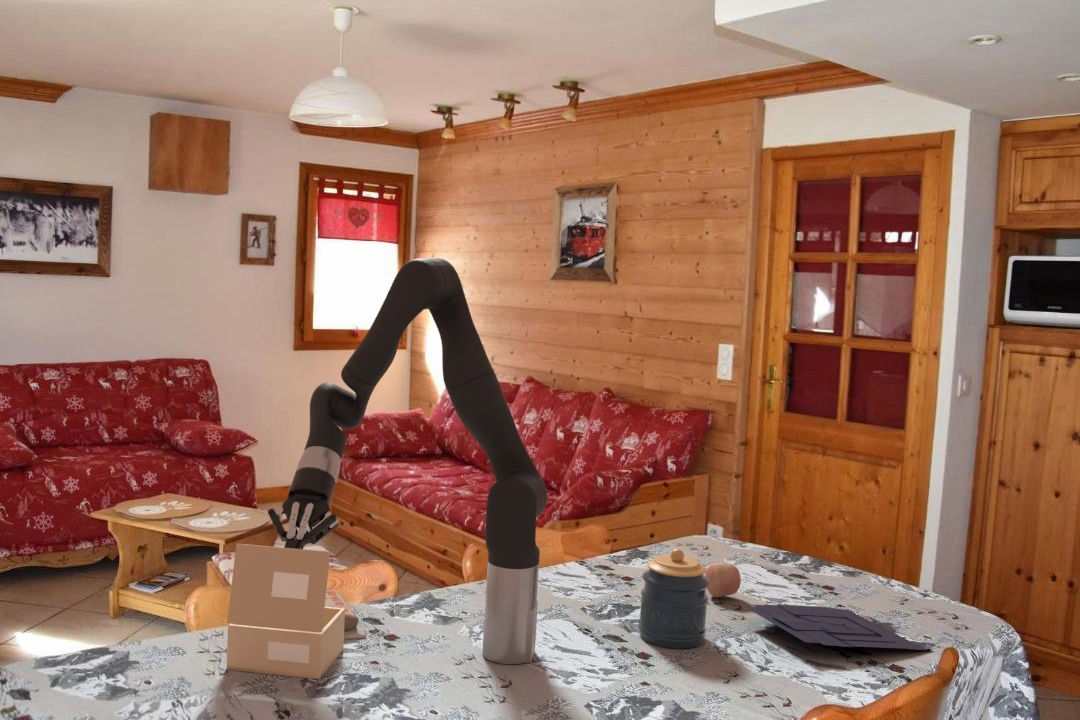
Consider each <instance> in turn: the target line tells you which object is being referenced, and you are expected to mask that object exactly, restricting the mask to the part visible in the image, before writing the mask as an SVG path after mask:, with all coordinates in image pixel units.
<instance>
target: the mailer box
mask: <svg viewBox="0 0 1080 720" xmlns="http://www.w3.org/2000/svg"><path fill="white" fill-rule="evenodd" d="M344 621H345V608H334V607H325V608H324V617H323V627H322V632H312V631H302V630H291V629H281V628H270V627H260V626H250V625H239V624H229V623H228V625H227V642H226V643H227V647H226V649H227V650H226V668H225V669H227V671H234V672H235V671H237V672H245V673H247V672H248V673H255V674H256V673H257V674H258V673H259V674H267V675H277V676H284V677H285V676H286V677H296V678H306V679H307V678H308V679H316V680H320V679H322V677H323V676H324V675H325V673H326V672H327V671H328V670H329V669H330V667H331V666H332V665H333V664H334V662H335V661H336V660H337V658H338V657H339V656H340V655H341V654H342V652H343V651H344V642H345V640H344Z"/></svg>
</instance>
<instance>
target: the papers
mask: <svg viewBox="0 0 1080 720" xmlns="http://www.w3.org/2000/svg"><path fill="white" fill-rule="evenodd" d="M742 607H743V608H745V609H747V610H748V611H750V612H752V613H755V614H756V615H758V616H760V617H762V618H763V619H765V620H766V621H769V622H770V623H772V624H774V625H775V626H777V627H779V628H780V629H782V630H784V631H785V632H787V633H789V634H790V635H792V636H794V637H795V638H798V639H799V640H800V641H803V642H804V643H810V644H811V643H815V644H821V645H823V646H836V647H837V646H839V647H843V648H844V647H845V648H847V647H848V648H856V647H858V648H859V647H860V648H862V647H864V648H885V649H887V648H888V649H907V650H915V651H917V650H918V651H928V650H927V649H925V648H922V647H920V646H918V645H915V644H913V643H911V642H909V641H908V640H906V639H904V638H902V637H900V636H898V635H897V634H895V633H893V632H892V631H893V630H892V631H890V630H891V629H889V628H887V627H885V626H884V625H882V626H880V625H881V624H880V623H878V624H876V623H877V622H876V621H874V623H873V622H870V621H868V620H867V619H864V618H863V617H860V616H859V615H856V614H855V613H853V612H852V611H849V610H850V609H842V608H834V607H828V606H812V605H799V604H798V605H797V604H796V605H795V604H794V605H793V604H778V603H776V604H765V603H764V604H753V605H749V606H748V605H742ZM875 622H876V623H875ZM879 624H880V625H879ZM883 626H884V627H883ZM886 628H887V629H886ZM888 629H889V630H888Z"/></svg>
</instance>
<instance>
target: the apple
mask: <svg viewBox="0 0 1080 720" xmlns="http://www.w3.org/2000/svg"><path fill="white" fill-rule="evenodd" d="M704 576H705V577H706V578H707V579H708V580H709V585H708V586H707V587H706V591H707V592H708V593H709V594H710V595H711V596H712V597H713V598H717V599H718V597H720V598H723V596H724V597H726V596H727V597H728V596H731V595H735V594H737V593H738V591H739V589H740V588H741V584H742V583H741V582H742V581H741V580H742V579H741V577H742V576H741V573H740V570H739V569H738V567H736V565H734V564H732V563H726V562H725V563H724V562H721V563H719V562H714V563H711V564H709V566H708V567H707V568H706V572H705V573H704Z"/></svg>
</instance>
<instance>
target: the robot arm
mask: <svg viewBox="0 0 1080 720" xmlns="http://www.w3.org/2000/svg"><path fill="white" fill-rule="evenodd" d="M424 310H428V311H429V312H430V315H431V317H432V319H433V321H434V323H435V324H434V325H435V326H436V328H437V331H438V334H439V336H440V338H439V339H440V341H441V353H442V354H441V355H442V357H441V358H442V361H441V363H442V364H441V365H442V377H443V383H444V385H445V388H446V392H447V394H448V396H449V398H450V401H451V404H452V407H453V408H454V411H455V413H456V415H457V416H458V419H459V420H460V422H461V423H462V425H463V426H464V427H465V428H466V429H467V431H468V432H469V434H470V435H471V436H472V437H473V438H474V440H475V441H476V442H477V443H478V445H479V446H480V447H481V449H482V451H484V452H483V453H485V455H486V457H487V459H488V461H489V465H490V467H491V469H492V471H493V475H494V477H495V478H494V479H495V482H494V483H493V484H492V486H491V487H490V489H489V491H488V494H487V497H486V498H487V500H486V506H485V508H486V509H485V537H484V538H485V539H484V540H485V546H486V549H487V569H486V571H487V572H486V584H485V585H486V586H485V604H484V620H483V638H482V655H483V657H484V658H485V659H486V660H489V661H491V662H494V663H496V664H502V665H516V664H517V665H519V664H524V663H527V664H531V663H532V662H533V658H534V655H535V651H536V639H537V636H536V635H537V623H538V622H537V620H538V605H539V602H538V600H537V599H538V585H539V572H540V571H539V568H540V555H541V554H540V551H541V550H540V548H539V546H538V545H537V542H536V541H537V537H536V536H537V535H536V532H537V517H539V516H540V515H541V514H542V513H543V511H544V510H545V508H546V505H547V502H548V490H547V487H546V484H545V482H544V480H543V478H542V476H541V475H540V474H541V473H539V471H538V469H537V467H536V465H535V464H534V462H533V460H532V458H531V456H530V454H529V452H528V450H527V448H526V446H525V445H524V442H523V440H522V439H521V436H520V434H519V431H518V428H517V425H516V422H515V420H514V418H513V415H512V413H511V410H510V407H509V404H508V403H507V400H506V397H505V394H504V392H503V390H502V387H501V384H500V382H499V380H498V377H497V375H496V373H495V370H494V369H493V366H492V364H491V362H490V359H489V357H488V354H487V351H486V349H485V348H484V344H483V343H482V340H481V337H480V335H479V333H478V330H477V328H476V326H475V324H474V323H475V322H474V320H473V317H472V315H471V312H470V307H469V304H468V301H467V298H466V294H465V292H464V288H463V285H462V281H461V279H460V276H459V273H458V272H457V270H456V268H455V267H454V266H453V264H451V262H449V261H448V260H446V259H444V258H442V257H425V258H423V257H421V258H420V257H418V258H413V259H410V260H409V261H406V262H405V263H404V264H403V265H402V266H401V267H400V269H399V270H398V271H397V273H396V275H395V277H394V280H393V281H392V284H391V285H390V287H389V290H388V291H387V294H386V296H385V298H384V300H383V302H382V304H381V306H380V309H379V310H378V313H377V315H376V316H375V318H374V319H373V323H372V324H371V326H370V328H369V329H368V331H367V332H366V334H365V336H364V337H363V339H362V340H361V342H359V345H358V346H357V347H356V349H354V352H353V353H352V354H351V355H350V356H349V358H348V360H347V361H346V363H345V364H344V365H343V367H342V370H340V372H341V373H340V377H341V380H342V381H343V383H344V384H345V385H346V386H347V387H348V388H349V389H351V390H352V391H353V392H354V393H353V392H351V391H349V390H348V389H345V388H343V387H341V386H339V385H337V384H335V383H333V382H324V383H323V382H322V383H321V384H319V385H318V386H317V387H316V388H315V389H314V390H313V392H312V395H311V398H310V401H309V431H308V432H309V433H308V438H307V441H306V444H305V446H304V450H303V453H302V455H301V456H300V458H299V460H298V464H297V467H296V469H295V472H294V476H293V479H292V481H291V485H290V488H289V491H288V493H287V494H288V495H287V498H286V499H285V500H284V501H283V502H282V506H281V507H279V508H276V509H274V508H270V509H268V510H267V514H268V517H269V518H270V520H271V523H272V525H273V526H274V529H275V530H276V533H277V534H278V537H279V539H280V541H281V542H283V543H284V542H285V544H284V547H283V548H293V549H304V547H305V546H306V545H309V544H311V545H316V544H317V543H318V542H319V541H321V540H322V539H323V538H324V537H326V536H327V535H328V534H329V533H330V532H332V531H334V530H335V529H336V528H337V527H338V526H339V525H340V524H339V520H338V517H337V515H336V514H334V513H332V512H331V508H330V504H331V501H332V499H333V495H334V491H335V487H336V486H337V485H336V484H337V482H338V479H339V474H340V470H341V463H342V459H343V455H344V453H345V450H346V445H347V435H346V433H345V432H344V431H345V430H346V431H350V430H354V429H355V428H357V427H358V426H359V425H360V424H361V423H362V421H363V419H364V416H365V414H366V410H367V407H368V403H369V401H370V398H371V396H372V394H373V392H374V390H375V388H376V386H377V385H378V383H379V382H380V380H381V379H382V378H383V377H384V375H385V374H386V373H387V372H388V370H389V368H390V367H391V365H392V364H393V361H394V360H395V358H396V355H397V352H398V347H399V345H400V341H401V338H402V337H403V334H404V333H405V330H406V329H407V327H408V326H409V325H410V324H411V323H412V321H414V320H415V318H416V317H418V315H420V314H421V313H422V312H423V311H424ZM343 430H344V431H343ZM284 515H285V518H286V519H287V521H288V528H287V531H286V529H285V527H284V526H283V524H282V521H283V520H284Z"/></svg>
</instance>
